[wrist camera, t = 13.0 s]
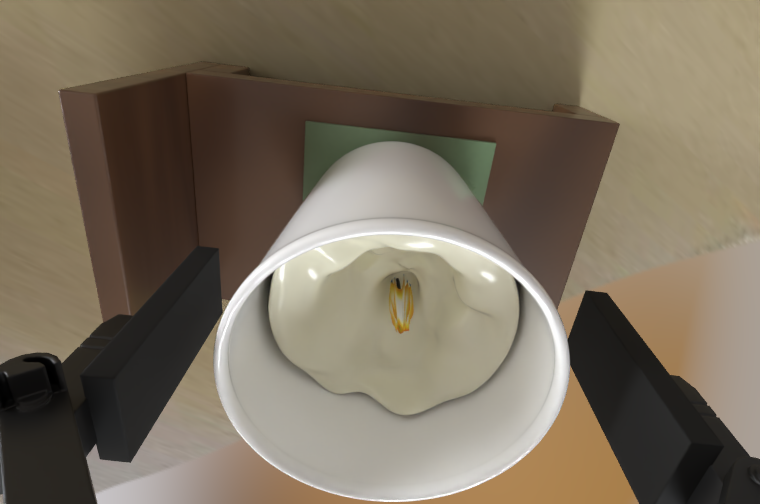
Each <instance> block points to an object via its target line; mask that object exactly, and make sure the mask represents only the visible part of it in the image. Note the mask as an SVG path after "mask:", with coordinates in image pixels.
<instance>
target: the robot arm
mask: <svg viewBox="0 0 760 504" xmlns="http://www.w3.org/2000/svg"><path fill="white" fill-rule="evenodd" d="M221 314H222V296H221V278H220V260H219V248H212V247H203V246H197V247H196V248H195V249H194V250H193V251H192V252H191V253H190V254H189V255H188V256H187V258H186V259H185V260H184V261H183V262H182V263H181V264H180V265H179V266H178V267H177V268H176V270H175V271H174V272H173V273H172V274H171V275H170V276H169V277H168V278H167V279H166V281H165V282H164V283H163V284H162V285H161V286H160V287H159V288H158V289H157V290H156V292H155V293H154V294H153V295H152V296H151V297H150V298H149V299H148V300H147V301H146V302H145V304H144V305H143V306H142V307H141V308H140V309H139V310H138V311H137V312H136V313H135V315H134V316H131V315H122V314H118V315H116V316H114V317H113V318H111V319H109V320H107V321H105V322H103V323H102V324H101V325H100V326H99V327H98V328H97V329H96V330H95V331H94V332H93V333H92V334H91V335H90V337H89V338H87V339H86V340H85V341H84V342H83V343H82V344H81V345H80V347H78V348H77V349H76V350H75V351H74V352H73V353H72V354H71V355H70V356H69V357H68V358H67V359H66V360H65V361H64V362H63V363H62V364H61V361H60V360H59V359H58V357H57V356H55V355H52V354H49V353H31V354H25V355H21V356H18V357H15V358H13V359H10V360H8V361H6V362H4V363H3V364H1V365H0V494H3V502H4V504H97V500H96V496H95V492H94V488H93V484H92V480H91V476H90V472H89V468H88V464H87V460H86V457H87V455H88V454H89V452H90V451H91V450H92V448H93V447H94V445H95V444H96V445H97V449H98V453H99V457H100V459H102V460H111V461H120V462H130V463H131V461H132V459H133V458H134V456H135V455H136V453H137V451H138V450H139V448H140V446H141V445H142V443H143V442H144V440H145V438H146V437H147V435H148V433H149V432H150V430H151V428H152V427H153V425H154V424H155V422H156V420H157V419H158V417H159V415H160V414H161V412H162V411H163V409H164V407H165V406H166V404H167V402H168V401H169V399H170V398H171V396H172V394H173V393H174V391H175V389H176V388H177V386H178V384H179V383H180V381H181V380H182V378H183V376H184V375H185V373H186V371H187V370H188V368H189V367H190V365H191V363H192V362H193V360H194V358H195V357H196V355H197V353H198V352H199V350H200V349H201V347H202V345H203V344H204V342H205V340H206V339H207V337H208V336H209V334H210V332H211V331H212V329H213V327H214V326H215V324H216V323H217V321H218V319H219V318H220V316H221ZM568 345H569V353H570V365H571V367H572V369H573V372H574V373H575V376H576V378H577V379H578V382H579V383H580V386H581V388H582V390H583V392H584V394H585V396H586V397H587V399H588V402H589V404H590V406H591V408H592V410H593V412H594V414H595V416H596V418H597V420H598V422H599V424H600V426H601V428H602V430H603V432H604V434H605V436H606V438H607V440H608V442H609V444H610V446H611V448H612V450H613V452H614V454H615V456H616V458H617V460H618V462H619V464H620V466H621V468H622V470H623V472H624V474H625V476H626V478H627V480H628V482H629V484H630V486H631V488H632V490H633V492H634V494H635V496H636V498H637V500H638V502H639V504H760V459H758V458H753V457H750V456H749V454H748V453H747V452H746V451H745V449H744V448H743V447H742V446H741V445H740V443H739V442H738V441H737V440H736V438H735V437H734V436H733V435H732V433H731V432H730V431H729V430H728V428H727V427H726V426H725V425H724V423H723V422H722V421H721V420H720V418H717V417H716V414H715V412H714V411H713V410H712V409H711V407H710V406H707V402H706V401H705V400H704V399H703V398H702V396H701V395H700V394H699V392H698V391H697V390H696V389H695V388H694V387H692V386H691V385H690V384H689V383H687V382H686V381H685V380H683V379H682V378H681V377H680V376H674V375H669V373H668V372H667V371H666V369H665V368H664V367H663V365H662V364H661V363H660V361H659V360H658V359H657V358H656V356H655V355H654V354H653V352H652V351H651V350H650V348H648V346H647V345H646V343H645V342H644V341H643V339H642V338H641V337H640V335H639V334H638V333H637V332H636V330H635V329H634V328H633V326H632V325H631V324H630V322H629V321H628V320H627V318H626V317H625V316H624V315H623V313H622V312H621V311H620V309H619V308H618V307H617V305H616V304H615V303H614V302H613V300H612V299H611V298H610V296H609V295H608V294H607V293H603V292H595V291H585V294H584V297H583V299H582V302H581V305H580V308H579V310H578V313H577V316H576V319H575V321H574V324H573V327H572V330H571V332H570V335H569V338H568Z"/></svg>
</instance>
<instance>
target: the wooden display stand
mask: <svg viewBox="0 0 760 504" xmlns="http://www.w3.org/2000/svg"><path fill="white" fill-rule="evenodd" d="M59 98H60V103H61V108H62V113H63V118H64V123H65V128H66V133H67V139H68V144H69V149H70V154H71V159H72V164H73V169H74V174H75V179H76V185H77V190H78V195H79V200H80V205H81V210H82V215H83V220H84V226H85V231H86V236H87V241H88V246H89V251H90V256H91V261H92V267H93V272H94V277H95V282H96V287H97V292H98V297H99V302H100V307H101V313H102V318H103V322H105V321H107V320H109V319H111V318H113V317H114V316H116V315H118V314H122V315H131V316H134V315H135V313H136V312H137V311H138V310H139V309H140V308H141V307H142V306H143V305H144V304H145V302H146V301H147V300H148V299H149V298H150V297H151V296H152V295H153V294H154V293H155V292H156V290H157V289H158V288H159V287H160V286H161V285H162V284H163V283H164V282H165V281H166V279H167V278H168V277H169V276H170V275H171V274H172V273H173V272H174V271H175V270H176V268H177V267H178V266H179V265H180V264H181V263H182V262H183V261H184V260H185V259H186V258H187V256H188V255H189V254H190V253H191V252H192V251H193V250H194V249H195V248H196V247H197V246H203V247H212V248H219V260H220V278H221V296H222V299H225V300H231V298H232V297H233V295H234V294H235V292H236V291H237V289H238V288H239V287H240V285H241V284H242V283H243V281H244V280H245V279H246V278H247V277H248V276H249V275H250V274H251V272H252V271H253V270H254V269H256V267H257V266H258V265H259V263H260V262H261V260H262V259H263V258H264V256H265V255H266V253H267V252H268V250H269V249H270V248H271V246H272V245H273V243H274V242H275V240H276V239H277V238H278V236H279V235H280V233H281V232H282V230H283V229H284V228H285V226H286V225H287V223H288V222H289V220H290V219H291V218H292V216H293V215H294V213H295V212H296V210H297V209H298V208H299V206H300V205H301V203H302V202H303V200H304V199H305V198H306V196H307V195H308V193H309V192H310V191H311V189H312V188H313V186H314V185H315V184H316V182H317V181H318V180H319V178H320V177H321V176H322V175H323V173H324V172H325V171H326V170H327V169H328V168H329V167H330V166H331V165H332V164H333V163H334V162H335V161H336V160H338V159H339V158H340V157H342V156H343V155H345V154H347V153H348V152H350V151H352V150H354V149H356V148H359V147H361V146H364V145H367V144H371V143H376V142H384V141H398V142H406V143H411V144H415V145H418V146H421V147H424V148H426V149H429V150H431V151H432V152H434V153H436V154H438V155H439V156H441V157H442V158H443V159H445V160H446V161H447V162H448V163H449V164H451V165H452V166H453V167H454V168H455V169H456V171H457V172H458V173H459V174H460V175H461V176H462V178H463V179H464V180H465V182H466V183H467V184H468V186H469V187H470V189H471V190H472V191H473V193H474V194H475V196H476V197H477V199H478V200H479V201H480V203H481V204H482V206H483V207H484V209H485V210H486V211H487V213H488V214H489V216H490V217H491V219H492V220H493V222H494V223H495V224H496V226H497V227H498V229H499V230H500V232H501V233H502V234H503V236H504V237H505V239H506V240H507V242H508V243H509V245H510V246H511V247H512V249H513V250H514V252H515V253H516V255H517V256H518V258H519V259H520V260H521V262H522V263H523V265H524V266H525V268H526V269H527V270H528V271H529V272H530V273H531V274H532V275H533V276H534V277H535V278H536V280H537V281H538V282H539V283H540V284H541V286H542V287H543V288H544V290H545V291H546V292H547V294H548V295H549V297H550V298H551V300H552V302H553V303H554V305H555V307H556V309H558V306H559V303H560V300H561V297H562V294H563V291H564V288H565V285H566V282H567V279H568V276H569V273H570V270H571V267H572V264H573V261H574V258H575V255H576V252H577V249H578V246H579V243H580V240H581V238H582V235H583V232H584V229H585V226H586V223H587V220H588V217H589V214H590V211H591V208H592V205H593V202H594V199H595V196H596V193H597V190H598V187H599V184H600V181H601V178H602V175H603V172H604V169H605V166H606V163H607V160H608V157H609V154H610V152H611V149H612V146H613V143H614V140H615V137H616V134H617V131H618V128H619V125H620V124H619V123H617V122H614V121H612V120H610V119H608V118H605V117H602V116H600V115H598V114H596V113H593V112H591V111H589V110H587V109H584V108H582V107H580V106H572V105H563V104H555V105H554V108H553V112H552V111H544V110H535V109H527V108H518V107H510V106H501V105H493V104H484V103H476V102H467V101H459V100H450V99H442V98H433V97H425V96H416V95H408V94H400V93H391V92H383V91H374V90H366V89H357V88H349V87H340V86H332V85H323V84H315V83H306V82H298V81H289V80H281V79H272V78H264V77H255V76H249V68H248V67H243V66H234V65H226V64H222V65H221V64H218V63H209V62H197V63H191V64H186V65H181V66H176V67H171V68H166V69H161V70H156V71H151V72H146V73H141V74H136V75H131V76H126V77H121V78H116V79H111V80H105V81H100V82H95V83H90V84H85V85H80V86H75V87H70V88H65V89H60V90H59Z"/></svg>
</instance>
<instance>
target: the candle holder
mask: <svg viewBox="0 0 760 504" xmlns="http://www.w3.org/2000/svg"><path fill="white" fill-rule="evenodd" d="M213 366H214V376H215V382H216V387H217V391H218V394H219V397H220V400H221V403H222V405H223V407H224V410H225V412H226V414H227V416H228V417H229V419H230V421H231V422H232V424H233V426H234V427H235V428H236V430H237V431H238V433H239V434H240V435H241V436H242V438H243V439H244V440H245V441H246V442H247V443H248V444H249V445H250V447H252V449H253V450H255V451H256V452H257V453H258V454H259V455H260V456H261V457H262V458H264V459H265V460H266V461H268V462H269V463H270V464H272V465H273V466H274V467H276V468H277V469H279V470H281V471H282V472H284V473H285V474H287V475H289V476H291V477H292V478H294V479H296V480H298V481H301V482H303V483H305V484H307V485H310V486H312V487H315V488H317V489H320V490H323V491H326V492H329V493H333V494H336V495H341V496H345V497H350V498H355V499H361V500H369V501H383V502H405V501H418V500H426V499H432V498H437V497H442V496H446V495H450V494H454V493H457V492H461V491H463V490H467V489H469V488H472V487H474V486H477V485H479V484H482V483H484V482H486V481H488V480H490V479H492V478H494V477H496V476H497V475H499V474H501V473H503V472H504V471H506V470H507V469H509V468H510V467H512V466H513V465H515V463H517V462H518V461H520V460H521V459H522V458H523V457H525V456H526V455H527V454H528V453H529V452H530V451H531V450H532V449H533V448H534V447H535V446H536V445H537V444H538V443H539V442H540V440H541V439H542V438H543V437H544V436H545V434H546V433H547V431H548V430H549V429H550V427H551V426H552V424H553V422H554V421H555V419H556V417H557V415H558V413H559V411H560V409H561V406H562V404H563V401H564V398H565V395H566V391H567V387H568V382H569V374H570V353H569V345H568V340H567V335H566V332H565V328H564V325H563V322H562V320H561V318H560V315H559V313H558V311H557V309H556V307H555V305H554V303H553V302H552V300H551V298H550V297H549V295H548V294H547V292H546V291H545V290H544V288H543V287H542V286H541V284H540V283H539V282H538V281H537V280H536V278H535V277H534V276H533V275H532V274H531V273H530V272H529V271H528V270H527V269H526V268H525V266H524V265H523V263H522V262H521V260H520V259H519V258H518V256H517V255H516V253H515V252H514V250H513V249H512V247H511V246H510V245H509V243H508V242H507V240H506V239H505V237H504V236H503V234H502V233H501V232H500V230H499V229H498V227H497V226H496V224H495V223H494V222H493V220H492V219H491V217H490V216H489V214H488V213H487V211H486V210H485V209H484V207H483V206H482V204H481V203H480V201H479V200H478V199H477V197H476V196H475V194H474V193H473V191H472V190H471V189H470V187H469V186H468V184H467V183H466V182H465V180H464V179H463V178H462V176H461V175H460V174H459V173H458V172H457V171H456V169H455V168H454V167H453V166H452V165H451V164H449V163H448V162H447V161H446V160H445V159H443V158H442V157H441V156H439V155H438V154H436V153H434V152H432V151H431V150H429V149H426V148H424V147H421V146H418V145H415V144H411V143H406V142H398V141H384V142H376V143H371V144H367V145H364V146H361V147H359V148H356V149H354V150H352V151H350V152H348V153H347V154H345V155H343V156H342V157H340V158H339V159H338V160H336V161H335V162H334V163H333V164H332V165H331V166H330V167H329V168H328V169H327V170H326V171H325V172H324V173H323V175H322V176H321V177H320V178H319V180H318V181H317V182H316V184H315V185H314V186H313V188H312V189H311V191H310V192H309V193H308V195H307V196H306V198H305V199H304V200H303V202H302V203H301V205H300V206H299V208H298V209H297V210H296V212H295V213H294V215H293V216H292V218H291V219H290V220H289V222H288V223H287V225H286V226H285V228H284V229H283V230H282V232H281V233H280V235H279V236H278V238H277V239H276V240H275V242H274V243H273V245H272V246H271V248H270V249H269V250H268V252H267V253H266V255H265V256H264V258H263V259H262V260H261V262H260V263H259V265H258V266H257V267H256V269H254V270H253V271H252V272H251V274H250V275H249V276H248V277H247V278H246V279H245V280H244V281H243V283H242V284H241V285H240V287H239V288H238V289H237V291H236V292H235V294H234V295H233V297H232V298H231V300H230V302H229V304H228V305H227V307H226V309H225V312H224V314H223V316H222V319H221V321H220V324H219V327H218V331H217V335H216V339H215V345H214V356H213Z"/></svg>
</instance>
